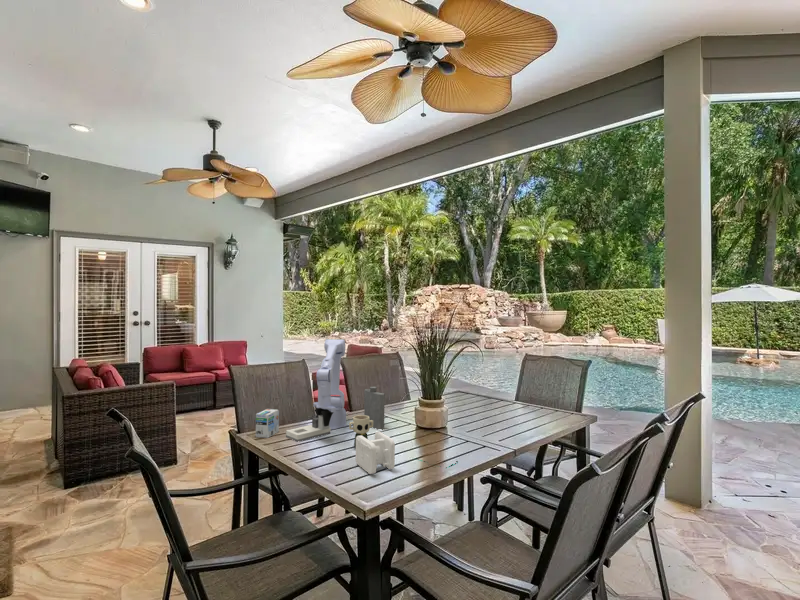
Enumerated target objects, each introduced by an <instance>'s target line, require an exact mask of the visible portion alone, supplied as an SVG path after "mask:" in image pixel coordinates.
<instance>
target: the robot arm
mask: <svg viewBox="0 0 800 600" xmlns="http://www.w3.org/2000/svg"><path fill="white" fill-rule="evenodd" d="M324 351H325V353H326V355H325V357H324V358H323V359H322V361H321V365H320V368H319V369H317V371H316V376H315V377H316V384H317V401H315V402H313V406H312V407H313V408H315V409H314V413H315V414H316V416H317V417H318V416H319V415H323V420H324V426H329V422H330V427H331V429H330V430H332V431H333V430H336V429H341V428H344V427H345V428H346V427H348V424H347V411H346V409H345V408H344V407H345V402H346V401H345V394H344V392H343V391H342V390H341V389H340V377H341V360H342V357H344V356H345V354H346V340H345V339H338V338H337V339H335V338H334V339H332V338H331V339H328V338H326V339H325V340H324Z"/></svg>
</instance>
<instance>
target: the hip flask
mask: <svg viewBox="0 0 800 600" xmlns="http://www.w3.org/2000/svg"><path fill="white" fill-rule="evenodd" d="M377 388H378V387H377V386H369V388H365V389H364V396H363V397H364V398H363V399H364V400H363V401H364V402H363V403H364V407H363V411H364V412H363V413H364V414H363V415H366V416H369V418H370V419H369V420H373V428H372V429H375V428H377V429H376V430H378V429H384V430H385V401H386V400H385V393H384V392H383V393H382V392H379V391H377ZM369 426H371V422H369Z"/></svg>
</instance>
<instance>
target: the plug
mask: <svg viewBox="0 0 800 600" xmlns="http://www.w3.org/2000/svg"><path fill="white" fill-rule="evenodd" d="M317 417H318V429H320V430H325V429H329V428H330V422H329V426H324V420H323V415H319V416H317Z"/></svg>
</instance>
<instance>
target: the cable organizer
mask: <svg viewBox="0 0 800 600" xmlns="http://www.w3.org/2000/svg"><path fill="white" fill-rule="evenodd" d="M395 444H396V443H395V440H394V439H393V438H391V437H390V436H388V435H386V434H384V433H383V432H381V431H377V432H375V434H374V439H372V440H369V439H366V438H365V437H363V436H362V435H360V436H357V437H356V447H355V462H356V463H357V465H358V466H359V467H360V468H361V467H362V468H361V469H363V470H364V471H365V472H366V471H367V472H368V474H369V475H373V474H376V473H377V469H378V465H382V468H386V467H387V468H388V469H391V470H392V469H395V465H396V464H395V461H396V460H395V459H396V458H395V457H396V454H395V452H396V451H395V450H396V449H395V448H396V447H395V446H396V445H395ZM387 468H386V469H387ZM388 469H387V470H388ZM367 472H366V473H367Z"/></svg>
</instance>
